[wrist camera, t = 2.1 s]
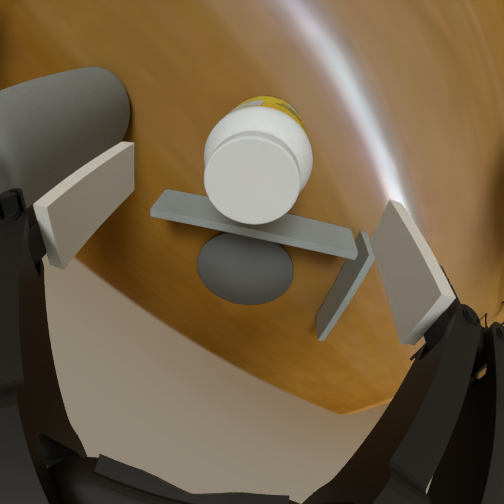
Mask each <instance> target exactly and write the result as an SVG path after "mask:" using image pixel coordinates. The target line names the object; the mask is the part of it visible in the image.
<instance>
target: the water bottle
mask: <svg viewBox="0 0 504 504" xmlns="http://www.w3.org/2000/svg"><path fill="white" fill-rule="evenodd" d="M129 119H130V104H129V98H128V95H127V92H126V89H125V87H124V85H123V84H122V82H121V81H120V80H119V78H118V77H117V76H116V75H115V74H113V73H112V72H110V71H109V70H106V69H104V68H101V67H86V68H80V69H75V70H70V71H65V72H61V73H56V74H52V75H48V76H44V77H41V78H37V79H33V80H30V81H27V82H23V83H20V84H17V85H14V86H11V87H8V88H6V89H3V90H0V194H1V193H3V192H5V191H7V190H9V189H13V188H20V189H22V191H23V196H24V200H25V204H26V208H28V207H29V206H31V205H32V204H33V203H34V202H35V201H37V200H38V199H39V198H40V197H41V196H43V195H45V193H46V192H48V191H49V190H51V189H52V188H53V187H54V186H55V185H57V184H58V183H60V182H62V181H63V180H64V179H66V178H67V177H69V176H70V175H71V174H73V173H74V172H75V171H77V170H78V169H80V168H81V167H83V166H84V165H86V164H87V163H89V162H90V161H92V160H93V159H95V158H96V157H98V156H99V155H101V154H102V153H104V152H106V151H107V150H109V149H110V148H112V147H114V146H115V145H117V144H119V143H120V142H121V141H122V139H123V137H124V136H125V134H126V131H127V128H128V125H129Z"/></svg>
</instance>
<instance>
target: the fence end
mask: <svg viewBox="0 0 504 504" xmlns="http://www.w3.org/2000/svg"><path fill="white" fill-rule="evenodd" d="M369 242H370V239H369V236H368V234H367V232H363V231H360V233H359V235H358V237H357V239H356V241H355V244H356V247H357V251H358V255H357V257H356V259H355V260H353V259H349V258H347V259H346V261H345V263H344V265H343V267H342V269H341V271H340V273H339V275H338V277H337V279H336V281H335V283H334V284H333V286H332V288H331V290H330V292H329V294H328V296H327V297H326V299H325V301H324V303H323V305H322V306H321V308H320V310H319V312H318V314H317V315H316V319H317V336H318V340H319V341H324V340H325V338H326V337H327V336H328V334H329V333H330V331H331V330H332V328H333V327H334V325H335V324H336V322H337V321H338V319H339V318H340V316H341V315H342V313H343V312H344V310H345V308H346V307H347V305H348V304H349V302H350V301H351V299H352V297H353V296H354V294H355V292H356V291H357V289H358V288H359V286H360V284H361V283H362V281H363V279H364V277H365V276H366V274H367V272H368V271H369V269H370V267H371V265H372V264H373V262H374V260H375V257H374V254H373V251H372V248H371V246H370V243H369Z"/></svg>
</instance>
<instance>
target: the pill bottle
mask: <svg viewBox="0 0 504 504" xmlns="http://www.w3.org/2000/svg"><path fill="white" fill-rule="evenodd" d="M204 164H205V173H204V185H205V189H206V193H207V195H208V197H209V199H210V201H211V202H212V204H213V205H214V206H215V208H216V209H217V210H219V211H220V212H221V213H222V214H223V215H225V216H226V217H228V218H230V219H232V220H235V221H237V222H241V223H246V224H263V223H268V222H271V221H274V220H276V219H278V218H280V217H281V216H283V215H284V214H285V213H287V212H288V211H289V210H290V209H291V207H292V206H293V205H294V203H295V201H296V199H297V197H298V194H299V193H300V192H301V191H302V189H303V188H304V187H305V185H306V183H307V181H308V179H309V177H310V174H311V170H312V164H313V155H312V149H311V145H310V142H309V139H308V136H307V133H306V130H305V127H304V124H303V121H302V119H301V117H300V115H299V113H298V112H297V111H296V109H295V108H294V107H293V106H292V105H290V104H289V103H288V102H286V101H284V100H282V99H280V98H277V97H273V96H256V97H252V98H250V99H247V100H245V101H244V102H242V103H241V104H239V105H238V106H237V107H236V108H234V109H233V110H232V111H231V112H230V113H228V114H227V115H226V116H225V117H224V118H223V119H221V120H220V121H219V122H218V123H217V125H216V126H215V127H214V128H213V130H212V131H211V133H210V135H209V137H208V139H207V142H206V145H205V150H204Z"/></svg>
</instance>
